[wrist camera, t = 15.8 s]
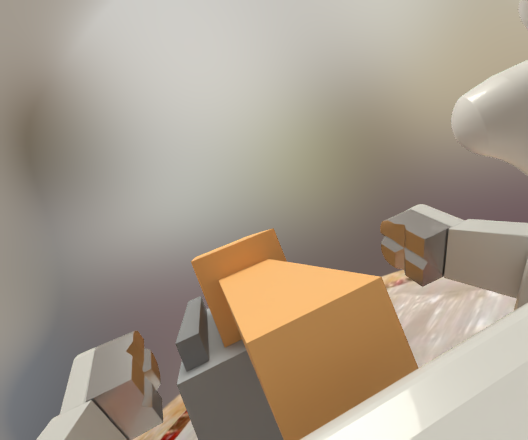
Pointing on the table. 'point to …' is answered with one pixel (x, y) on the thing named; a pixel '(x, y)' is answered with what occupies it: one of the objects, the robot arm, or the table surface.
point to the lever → (304, 330)
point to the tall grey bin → (220, 383)
